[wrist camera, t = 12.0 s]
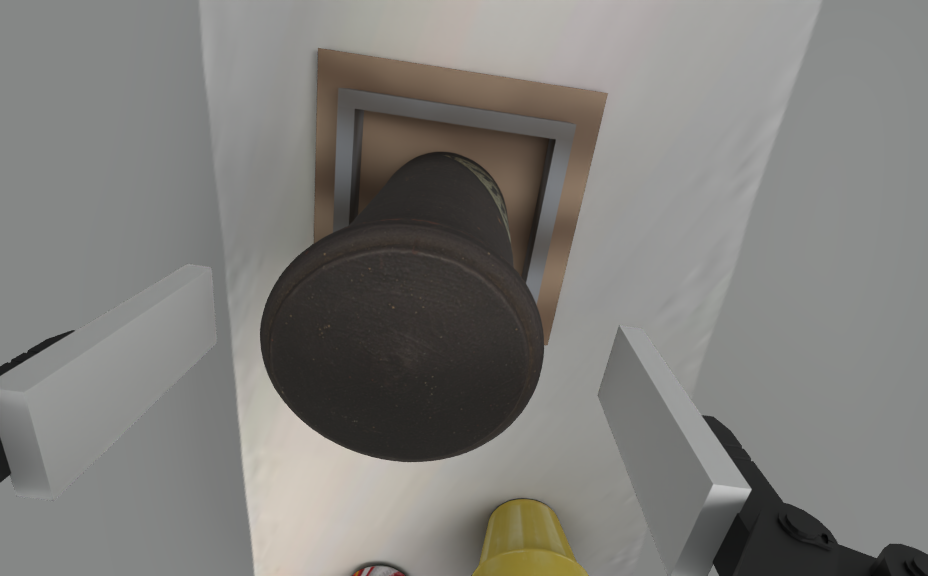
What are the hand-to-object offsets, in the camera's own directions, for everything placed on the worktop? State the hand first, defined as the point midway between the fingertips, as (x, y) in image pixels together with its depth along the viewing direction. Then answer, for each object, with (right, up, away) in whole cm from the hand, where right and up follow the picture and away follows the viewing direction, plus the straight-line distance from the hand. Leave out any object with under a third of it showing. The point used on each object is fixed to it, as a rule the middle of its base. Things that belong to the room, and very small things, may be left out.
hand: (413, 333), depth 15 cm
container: (0, +7, +17) cm, 18 cm away
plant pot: (+7, -21, +30) cm, 37 cm away
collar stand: (0, +7, +18) cm, 19 cm away
